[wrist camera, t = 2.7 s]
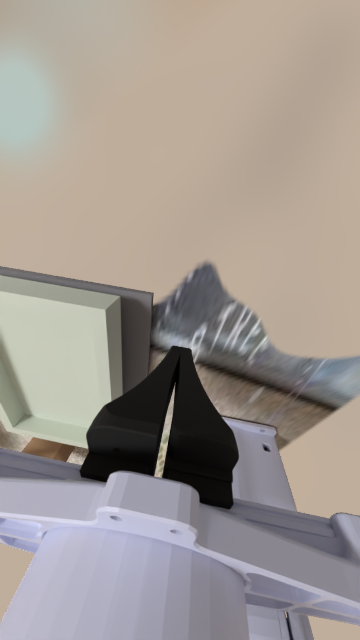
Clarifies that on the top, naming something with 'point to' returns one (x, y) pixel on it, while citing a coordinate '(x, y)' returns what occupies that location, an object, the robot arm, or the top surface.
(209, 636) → the robot arm
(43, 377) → the pale green tray
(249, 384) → the top surface
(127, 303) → the mat
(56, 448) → the walnut block
